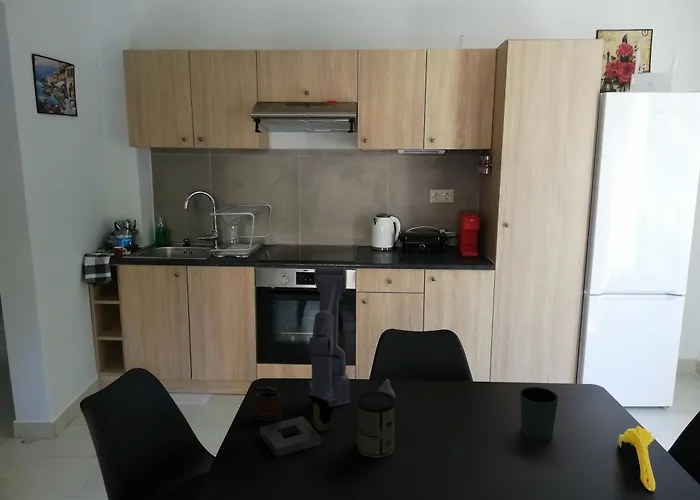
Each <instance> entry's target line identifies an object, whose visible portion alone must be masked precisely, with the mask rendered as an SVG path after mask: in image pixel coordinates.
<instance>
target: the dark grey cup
mask: <svg viewBox="0 0 700 500" xmlns="http://www.w3.org/2000/svg"><path fill="white" fill-rule="evenodd" d="M519 401H520V403H519V404H520V430H521V433H522V434H523V436H524V437H526V438H528V439H529V440H533V441H536V442H537V441H538V442H545V441H546V442H547V441H549V440H551V439H552V438H553V434H554V427H555V420H556V415H557V408H558V401H559V396H558V394H557V393H556V392H554V391H553V390H551V389H549V388H546V387H541V386H540V387H539V386H528V387H524V388H522V389H521V390H520V391H519Z"/></svg>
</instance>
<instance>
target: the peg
mask: <svg viewBox="0 0 700 500" xmlns="http://www.w3.org/2000/svg"><path fill="white" fill-rule="evenodd" d="M312 410H313V411H312V412H313V414H312V415H313V417H312V418H313V427H314V429H315V430H316V431H317V432H323V431H326V430H327V431H328V430H331V429H333V426H332V425H333V424H332V417H333V416H332V415H333V413H332V414H331V418H330V422H329V423H326V424H323V423H322V420H321V414H320V409H319V407H318V405H317V403H313V405H312Z"/></svg>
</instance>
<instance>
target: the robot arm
mask: <svg viewBox="0 0 700 500" xmlns="http://www.w3.org/2000/svg"><path fill="white" fill-rule="evenodd" d="M347 278H348V272H347V268H346V267H345V266H341V267H340V266H339V267H338V266H336V267H335V266H318V265H317V266H316V267H315V268H314V273H313V282H314V285H315V288H316V290H317V292H318V293H319V311H318V312H317V313H316V314H315V315H314V322H313V328H312V329H313V330H312V336H311V337H310V338H309V341H308V353H309V361H310V362H311V380H310V381H308V388H309V389H310V390H309V391H308V393H307V396H308V398H309V399H310V402H311V404H312V406H313V403H317V405H318V407H319V409H320V414H321V420H322V423H323V424H326V423H329V422H330V418H331V414H332V415H333V411H334V408H335V407H339V406H343V405H346V404H350V403H351V402H352V400H350V398H351V397H350V396H351V395H350V394H351V391H350V378H349V376H348V374H347V373H346V371H347V370H346V369H347V359H346V357H347V356H346V352H345V350H344V349H343V348H341V347H340V346H339V345H338V336H339V330H338V329H339V305H340V304H339V303H340V302H339V301H340V297H341V295H343V294H346V290H347Z"/></svg>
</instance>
